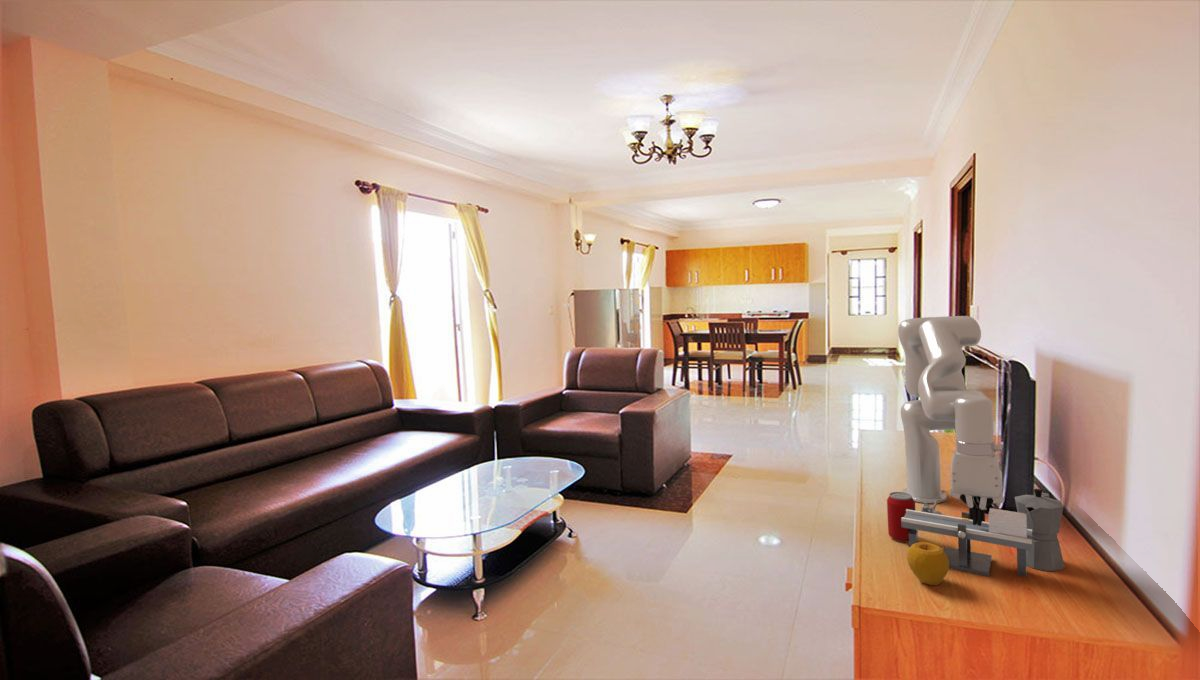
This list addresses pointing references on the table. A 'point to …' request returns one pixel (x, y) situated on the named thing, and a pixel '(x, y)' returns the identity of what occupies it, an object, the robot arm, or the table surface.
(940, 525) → the beam
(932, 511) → the elephant figurine
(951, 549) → the stand
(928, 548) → the apple
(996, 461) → the robot arm
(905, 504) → the beverage can
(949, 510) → the table surface
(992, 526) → the rider
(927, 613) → the table surface
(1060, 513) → the coffeepot
